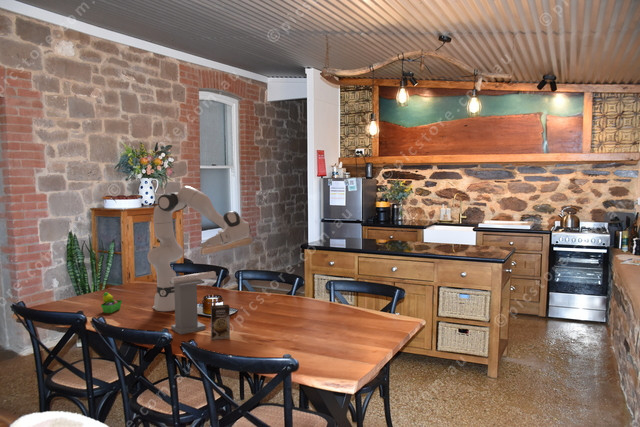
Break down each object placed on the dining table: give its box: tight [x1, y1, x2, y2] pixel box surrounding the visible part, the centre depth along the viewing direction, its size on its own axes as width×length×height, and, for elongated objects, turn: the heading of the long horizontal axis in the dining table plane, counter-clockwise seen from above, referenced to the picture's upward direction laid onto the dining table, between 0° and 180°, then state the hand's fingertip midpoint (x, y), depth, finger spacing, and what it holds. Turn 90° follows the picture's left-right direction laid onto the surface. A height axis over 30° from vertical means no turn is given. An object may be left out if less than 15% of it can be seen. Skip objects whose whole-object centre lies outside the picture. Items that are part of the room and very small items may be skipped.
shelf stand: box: [170, 279, 207, 335], centre depth 265 cm, size 14×12×26 cm
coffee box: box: [210, 304, 231, 341], centre depth 252 cm, size 9×6×16 cm
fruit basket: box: [100, 291, 123, 314], centre depth 300 cm, size 11×9×11 cm
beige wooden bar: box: [171, 270, 217, 284], centre depth 266 cm, size 24×3×3 cm, turn 129°
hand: (199, 245), depth 278 cm, fingers open, 8 cm apart
